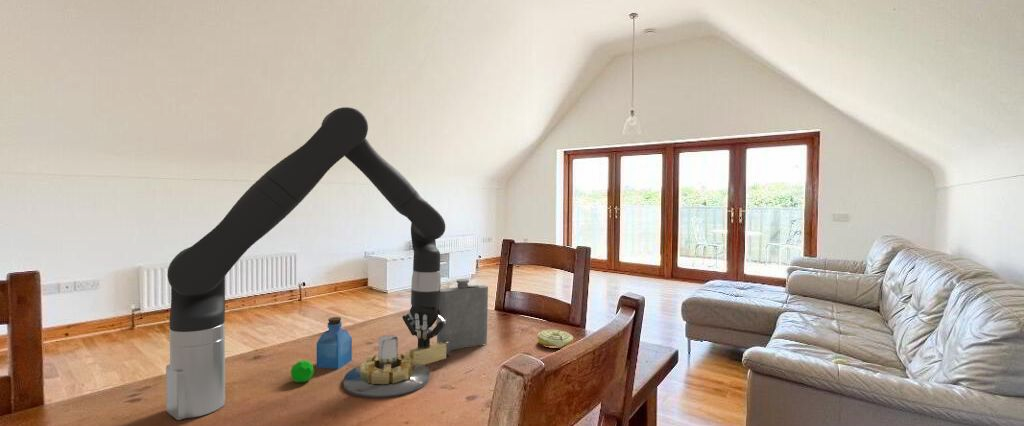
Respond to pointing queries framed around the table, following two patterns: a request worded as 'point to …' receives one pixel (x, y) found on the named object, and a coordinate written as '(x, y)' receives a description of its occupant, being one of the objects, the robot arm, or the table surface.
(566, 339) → the decorated donut
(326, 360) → the perfume bottle
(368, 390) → the flange
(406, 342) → the table surface
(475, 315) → the hip flask
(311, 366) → the polyhedron
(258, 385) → the table surface
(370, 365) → the ring wrench
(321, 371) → the table surface
